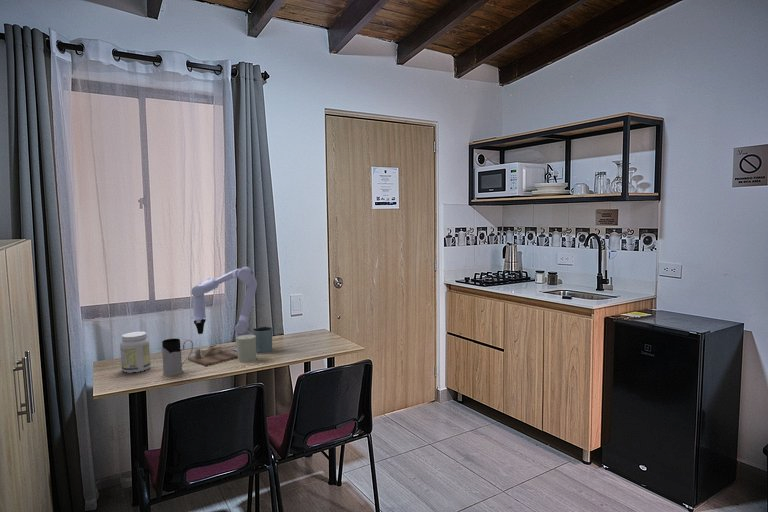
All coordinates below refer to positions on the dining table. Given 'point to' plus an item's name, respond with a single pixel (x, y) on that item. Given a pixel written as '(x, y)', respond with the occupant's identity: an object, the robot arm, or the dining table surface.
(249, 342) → the can
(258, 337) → the teal cylindrical container
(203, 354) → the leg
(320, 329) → the dining table surface
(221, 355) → the frame board
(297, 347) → the dining table surface
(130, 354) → the supplement tub
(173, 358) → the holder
